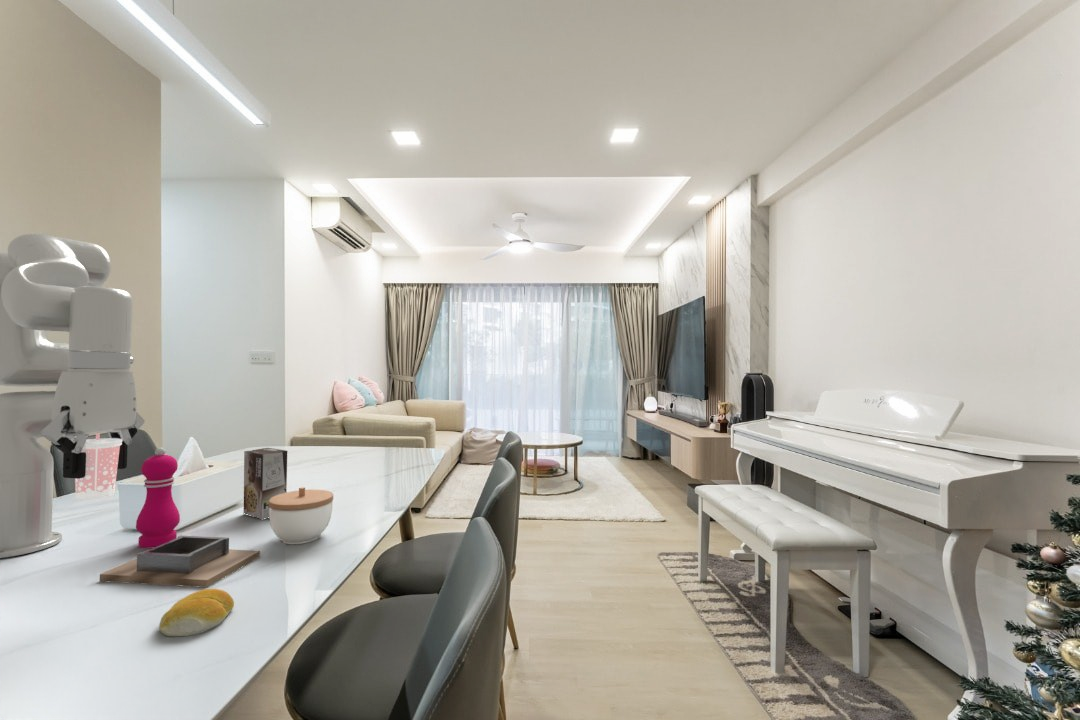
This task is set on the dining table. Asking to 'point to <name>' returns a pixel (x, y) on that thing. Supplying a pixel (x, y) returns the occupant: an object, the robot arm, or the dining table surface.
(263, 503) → the coffee box
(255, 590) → the dining table surface
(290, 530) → the lidded bowl
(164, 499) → the pepper mill
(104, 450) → the beverage cup
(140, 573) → the cup holder
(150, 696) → the dining table surface
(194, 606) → the bread roll
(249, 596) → the dining table surface
